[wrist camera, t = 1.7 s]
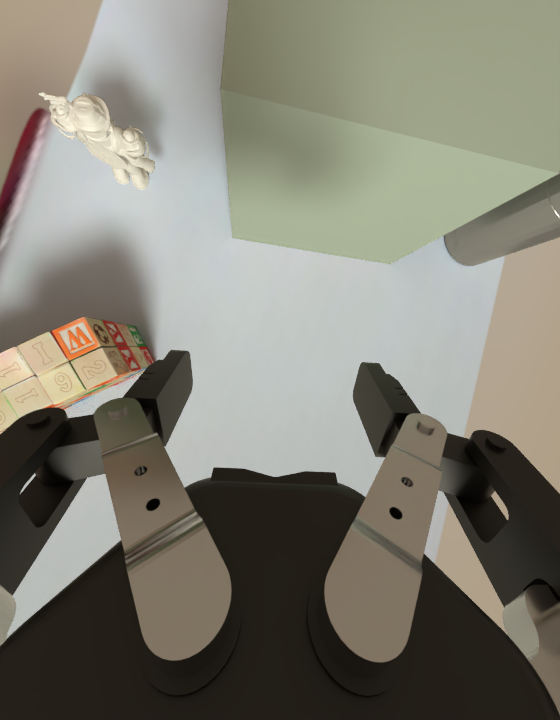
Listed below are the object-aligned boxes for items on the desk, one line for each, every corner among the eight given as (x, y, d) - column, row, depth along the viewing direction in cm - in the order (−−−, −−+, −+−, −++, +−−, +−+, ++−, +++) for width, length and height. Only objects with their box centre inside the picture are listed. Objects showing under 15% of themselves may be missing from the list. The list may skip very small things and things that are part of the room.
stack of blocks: (6, 438, 35) (-121, 489, 23) (-22, 396, 34) (-168, 425, 22) (158, 365, 37) (117, 376, 25) (136, 324, 36) (83, 315, 24)
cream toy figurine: (92, 179, 34) (14, 92, 22) (100, 150, 34) (26, 47, 22) (163, 205, 36) (124, 136, 24) (171, 176, 35) (136, 93, 24)
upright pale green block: (389, 264, 41) (559, 173, 19) (232, 238, 37) (220, 89, 15) (401, 171, 40) (590, -33, 18) (242, 135, 36) (244, -173, 15)
